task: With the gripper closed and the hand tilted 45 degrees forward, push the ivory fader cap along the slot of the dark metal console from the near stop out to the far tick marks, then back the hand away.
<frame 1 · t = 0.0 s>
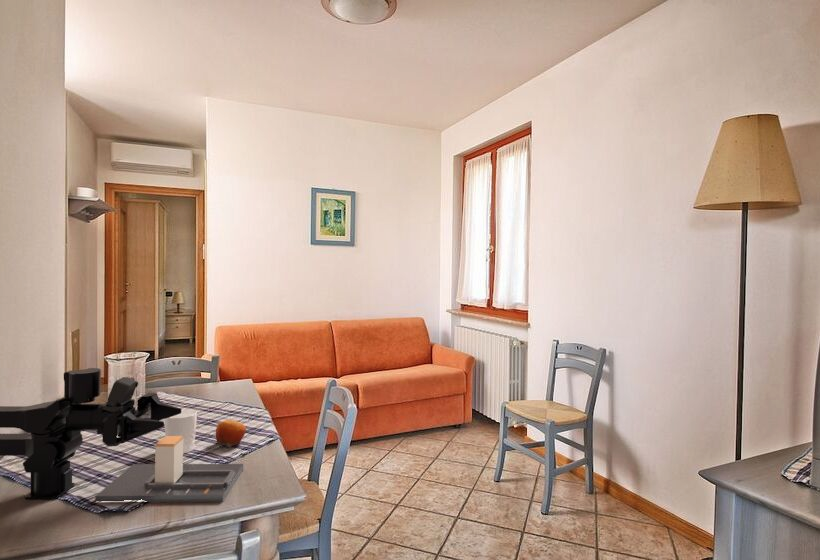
hand: (172, 417, 105), 17 cm above the table, tool horizontal, fingers open, 9 cm apart
fader cap: (169, 459, 107), point 6 cm above the table, slide at 0.0 cm
console: (175, 485, 108), on the table
fruit: (230, 445, 133), on the table
white cup: (180, 450, 128), on the table
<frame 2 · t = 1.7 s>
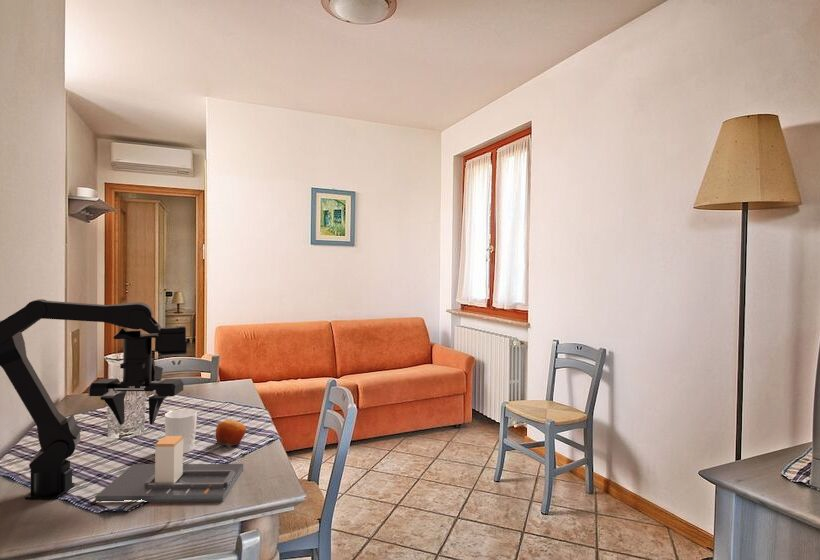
hand: (137, 424, 110), 13 cm above the table, tool pointing down, fingers open, 6 cm apart
nothing on the table moved.
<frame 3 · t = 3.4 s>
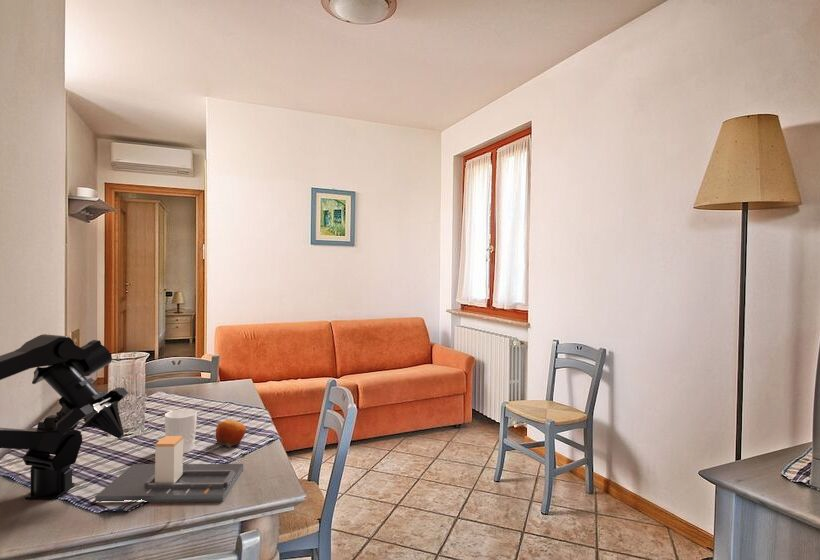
hand: (121, 436, 106), 11 cm above the table, tool tilted 45°, fingers closed
nothing on the table moved.
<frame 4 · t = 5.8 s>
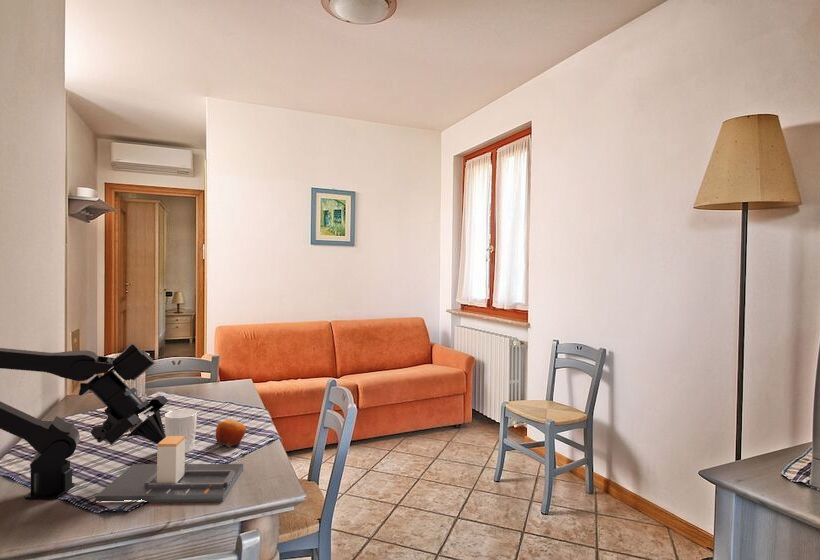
hand: (165, 444, 109), 9 cm above the table, tool tilted 45°, fingers closed, pressing on fader cap
fader cap: (171, 459, 107), point 6 cm above the table, slide at 0.4 cm, touching gripper
everything else where it was.
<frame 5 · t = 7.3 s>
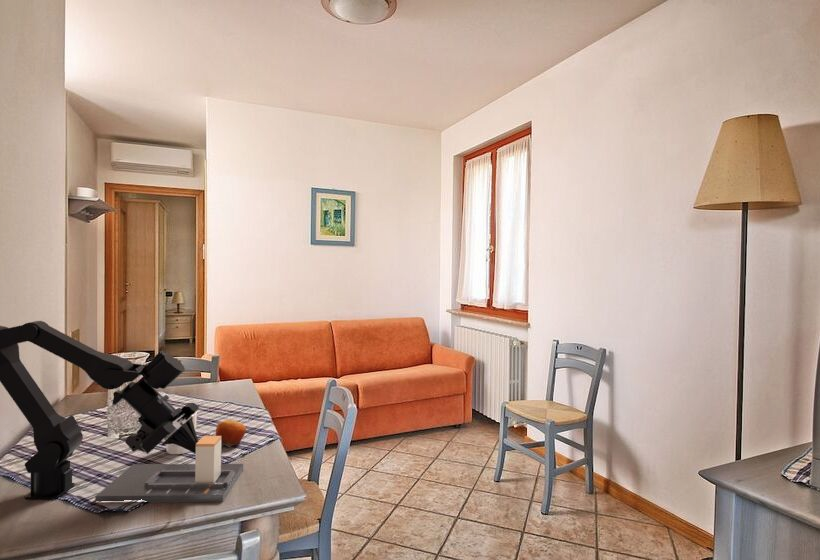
hand: (198, 451, 108), 8 cm above the table, tool tilted 45°, fingers closed
fader cap: (208, 459, 108), point 6 cm above the table, slide at 8.6 cm, touching gripper
everything else where it was.
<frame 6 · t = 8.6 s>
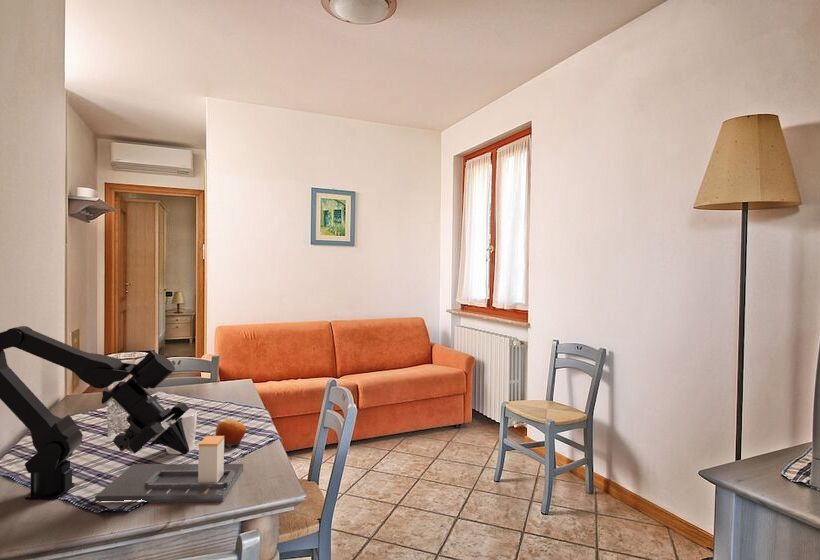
hand: (187, 452, 107), 8 cm above the table, tool tilted 45°, fingers closed
fader cap: (211, 459, 108), point 6 cm above the table, slide at 9.2 cm
everything else where it was.
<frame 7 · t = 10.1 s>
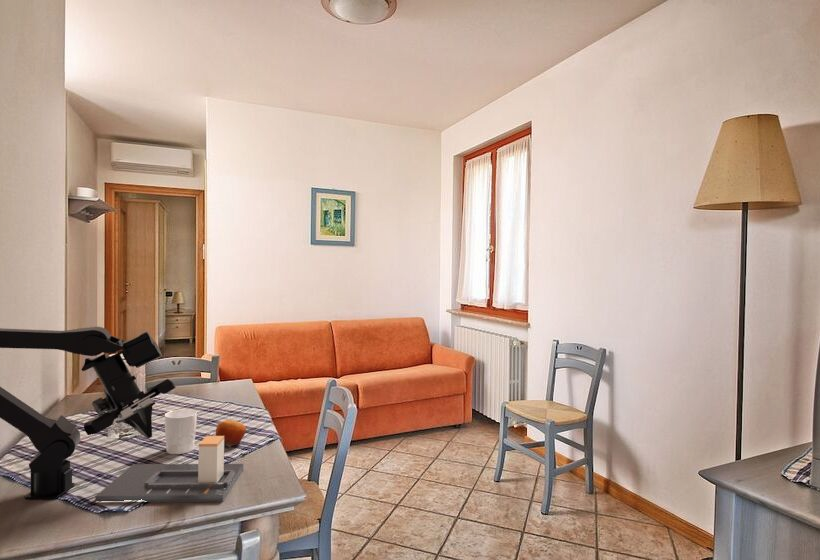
hand: (149, 437, 109), 10 cm above the table, tool tilted 25°, fingers closed
nothing on the table moved.
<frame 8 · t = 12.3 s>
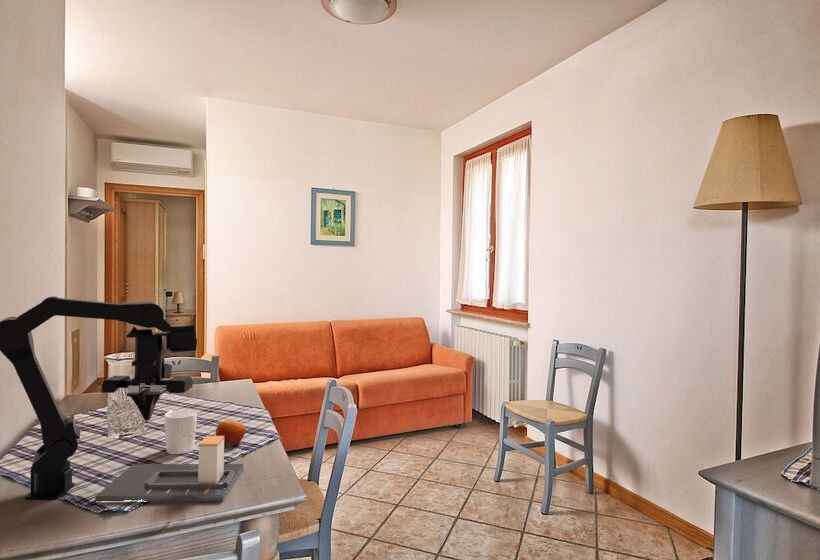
hand: (147, 420, 113), 13 cm above the table, tool pointing down, fingers closed
nothing on the table moved.
at the end: fader cap slide at 9.2 cm; the gripper is holding nothing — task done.
